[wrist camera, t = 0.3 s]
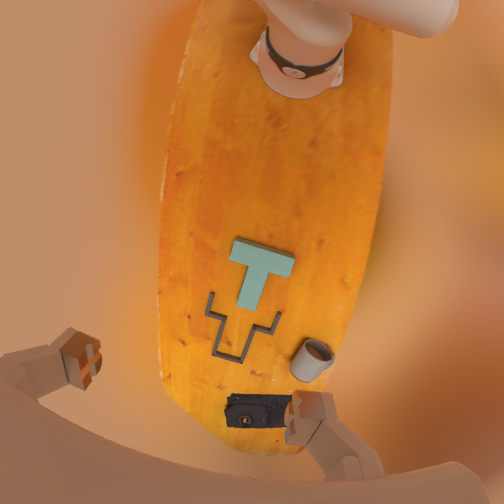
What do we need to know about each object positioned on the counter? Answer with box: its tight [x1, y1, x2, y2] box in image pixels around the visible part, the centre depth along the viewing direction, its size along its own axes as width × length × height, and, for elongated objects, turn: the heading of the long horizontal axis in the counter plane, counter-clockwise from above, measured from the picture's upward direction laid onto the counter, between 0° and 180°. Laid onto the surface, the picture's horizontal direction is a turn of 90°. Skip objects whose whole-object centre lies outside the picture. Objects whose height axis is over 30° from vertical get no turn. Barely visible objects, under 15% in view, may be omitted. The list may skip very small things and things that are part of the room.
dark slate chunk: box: [224, 393, 292, 429], centre depth 67 cm, size 15×22×5 cm
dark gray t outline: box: [205, 291, 281, 364], centre depth 61 cm, size 16×16×1 cm
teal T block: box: [229, 237, 295, 311], centre depth 56 cm, size 13×12×3 cm
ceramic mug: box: [289, 339, 335, 383], centre depth 59 cm, size 11×8×8 cm
